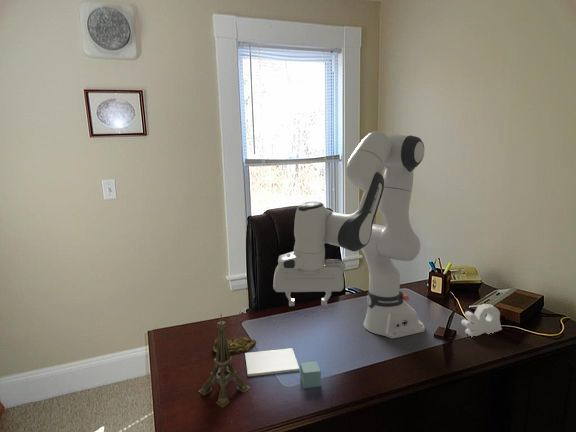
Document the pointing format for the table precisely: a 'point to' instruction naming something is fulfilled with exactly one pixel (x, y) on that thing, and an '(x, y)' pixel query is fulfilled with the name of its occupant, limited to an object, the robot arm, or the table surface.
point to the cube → (310, 374)
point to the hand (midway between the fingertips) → (307, 305)
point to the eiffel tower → (223, 370)
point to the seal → (237, 345)
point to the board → (271, 362)
